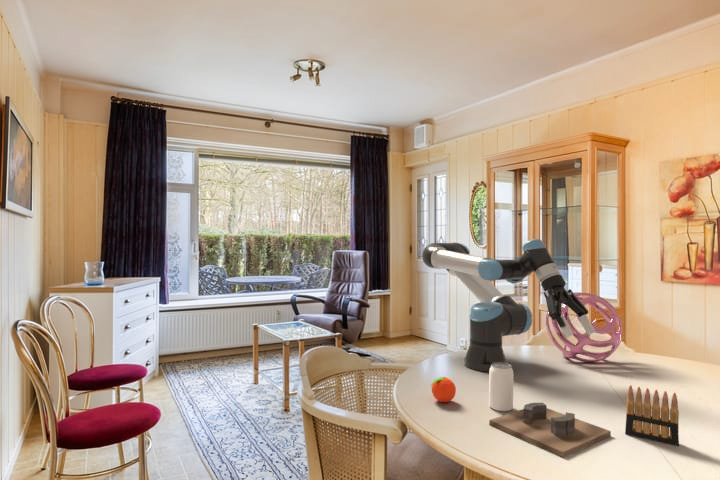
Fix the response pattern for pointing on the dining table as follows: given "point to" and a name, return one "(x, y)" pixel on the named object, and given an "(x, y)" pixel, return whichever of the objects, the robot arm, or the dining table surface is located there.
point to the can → (501, 387)
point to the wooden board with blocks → (550, 429)
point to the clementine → (443, 389)
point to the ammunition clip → (652, 417)
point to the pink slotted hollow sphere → (584, 338)
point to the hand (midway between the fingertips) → (581, 334)
